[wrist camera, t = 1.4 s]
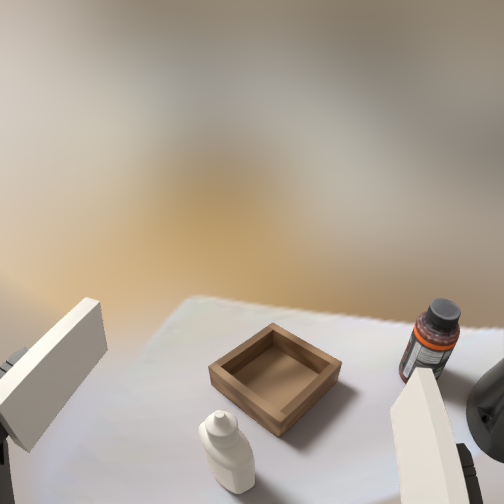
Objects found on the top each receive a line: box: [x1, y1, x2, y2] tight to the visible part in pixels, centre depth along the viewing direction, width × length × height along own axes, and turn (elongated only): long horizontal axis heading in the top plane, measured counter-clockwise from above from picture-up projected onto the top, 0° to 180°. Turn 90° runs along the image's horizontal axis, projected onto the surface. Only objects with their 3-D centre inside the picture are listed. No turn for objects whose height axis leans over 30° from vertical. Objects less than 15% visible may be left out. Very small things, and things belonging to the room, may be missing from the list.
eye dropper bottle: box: [198, 410, 255, 494], centre depth 23 cm, size 4×6×12 cm
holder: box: [208, 323, 342, 438], centre depth 36 cm, size 11×11×4 cm
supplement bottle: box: [399, 298, 461, 384], centre depth 33 cm, size 6×6×11 cm
